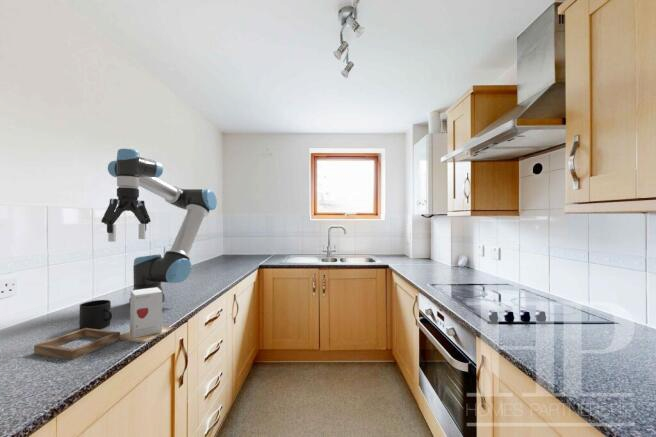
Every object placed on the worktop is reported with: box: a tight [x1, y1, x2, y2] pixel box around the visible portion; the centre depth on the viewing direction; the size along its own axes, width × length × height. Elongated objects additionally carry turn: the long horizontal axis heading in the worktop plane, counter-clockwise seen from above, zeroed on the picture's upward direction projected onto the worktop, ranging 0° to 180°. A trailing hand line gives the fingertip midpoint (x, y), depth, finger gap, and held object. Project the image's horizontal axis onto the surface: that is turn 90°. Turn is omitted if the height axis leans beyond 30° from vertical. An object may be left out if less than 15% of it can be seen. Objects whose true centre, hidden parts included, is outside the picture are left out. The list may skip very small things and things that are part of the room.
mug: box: [78, 299, 113, 330], centre depth 115 cm, size 9×12×9 cm
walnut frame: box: [33, 328, 121, 361], centre depth 98 cm, size 15×15×2 cm
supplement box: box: [129, 287, 163, 338], centre depth 109 cm, size 9×9×15 cm
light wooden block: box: [118, 325, 175, 344], centre depth 109 cm, size 13×13×1 cm
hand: (127, 240), depth 122 cm, fingers open, 13 cm apart
